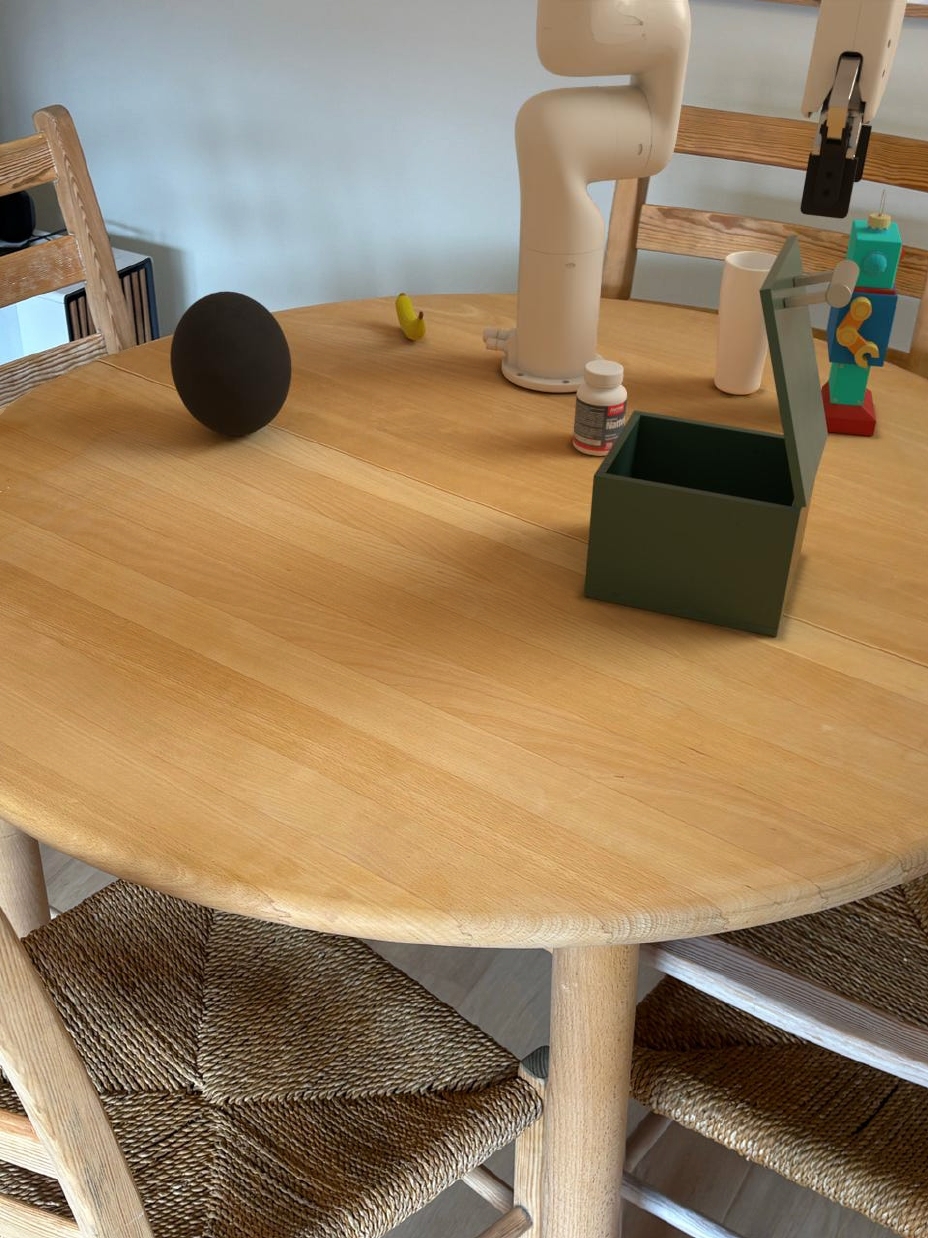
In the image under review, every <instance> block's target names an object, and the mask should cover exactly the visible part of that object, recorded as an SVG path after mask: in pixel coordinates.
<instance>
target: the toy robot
mask: <svg viewBox="0 0 928 1238" xmlns="http://www.w3.org/2000/svg"><path fill="white" fill-rule="evenodd" d="M883 199H884V200H883ZM886 199H887V189H886V188H884V189H883V191H882V195H881V200H880V204H879V212H872V213H870V214H869V215H868V219H867V220H865V219H864V220H862V219H853V220H852V223H851V229H850V235H849V240H848V245H847V251H846V255H845V260H852V261H854V262H855V263H856V264H857V265H858V267H859V275H858V278H857V281H856V284H855V287H854V290H853V293H852V296H851V299H850V301H849V303H848V304H847V305H846V306H844V307H841V308H834V307H832V306H830V308H829V313H828V319H827V324H826V331H825V332H826V333H825V334H826V345H827V352H828V353H827V355H828V363H831V364H830V370H829V375H828V380H827V381H826V382H825V384H823V385H822V386H821V393H822V399H823V406H824V413H825V419H826V426H827V432H828V433H835V434H846V435H855V436H856V435H857V436H867V437H873V436H874V435H875V429H876V425H877V418H876V413H875V406H874V400H873V394H872V393H873V392H872V391H871V390H870V389H868V388H867V386H868V380H869V376H870V371H871V367H878V368H883V367H884V365H885V359H886V354H887V350H888V348H889V344H890V339H891V335H892V330H893V325H894V321H895V315H896V311H897V304H898V299H899V295H898V292H897V287H896V283H895V280H896V278H897V274H898V273H897V272H898V265H899V263H900V262H901V261H903V260H904V258H905V255H906V249H905V247H904V246H903V240H902V237H901V234H900V229H899V227H898V223H897V222H895V221H894V222H893V221H891V220H892V217H891V215H889V214H888V213H884V210H885V205H886ZM882 204H883V205H882Z"/></svg>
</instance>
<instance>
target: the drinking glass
mask: <svg viewBox="0 0 928 1238" xmlns="http://www.w3.org/2000/svg"><path fill="white" fill-rule="evenodd" d="M777 256H778V255H775V254H773V253H769V252H763V251H756V250H755V251H754V250H745V251H743V250H741V251H735V252H732V253H729V254H727V255H726V256H725V257H724V260H723V265H722V271H721V277H720V284H719V293H718V312H717V313H718V314H717V336H716V357H715V370H714V377H713V382H714V385H715V387H716V388H717V389H718V390H720V391H721V392H724V393H727V394H731V395H736V396H738V395H739V396H743V395H744V396H745V395H751V394H753V393H755V392H757V391H758V390H759V389H760V386H761V384H762V378H763V372H764V368H765V364H766V360H767V355H768V351H769V345H768V339H767V333H766V327H765V321H764V315H763V310H762V304H761V298H760V292H759V290H760V289H761V287H762V285H763V283H764V281H765V279H766V277H767V275H768V273H769V271H770V269H771V267H772V266H773V264H774V262H775V260H776V258H777Z"/></svg>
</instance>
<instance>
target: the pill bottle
mask: <svg viewBox="0 0 928 1238" xmlns="http://www.w3.org/2000/svg"><path fill="white" fill-rule="evenodd" d="M624 371H625V370H624V366H623V365H622V364H621V363H620V362H616V361H613V360H609V359H608V360H607V359H605V360H595V361H591V362H588V363H587V364H586V365H585V369H584V381H585V382H584V383H582V384H581V385H580V386H579V388H578V390H577V391H576V394H575V408H574V409H575V410H574V420H573V421H574V423H573V432H572V433H573V434H572V445H573V447H574V448H575V449H576V450H577V451H579V452H581V453H583V454H586V455H589V456H595V457H603V456H605V457H606V455H607V454H608V452H609V450H610V449H611V447H612V446H613V444H614V442H615V441H616V439H617V437H618V436H619V434H620V433H621V431H622V429H623V428H624V426H625V424H626V423H625V421H626V412H627V411H626V410H627V402H628V391H627V389H626V388H625V387H624V385H623V384H622V383H623V382H624V381H623V380H624Z"/></svg>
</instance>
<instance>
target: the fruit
mask: <svg viewBox="0 0 928 1238" xmlns="http://www.w3.org/2000/svg"><path fill="white" fill-rule="evenodd" d="M395 311H396V315H397V319H398V322H399V325H400V327H401V330H402V331H403V333H404V335H405V337H406V338H408V339H409V340H411V341H418V340H421V339H423V338H424V337H425V336H426V332H427V326H426V322H425V320H424V311H421V310H420V311H419V312H418V316H416V312H415V310H414V306H413V302H412V300H411V298H409V296H408V295H407V294H406V293H404V292H401V293H399V295H398V296H397V298H396V300H395Z"/></svg>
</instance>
